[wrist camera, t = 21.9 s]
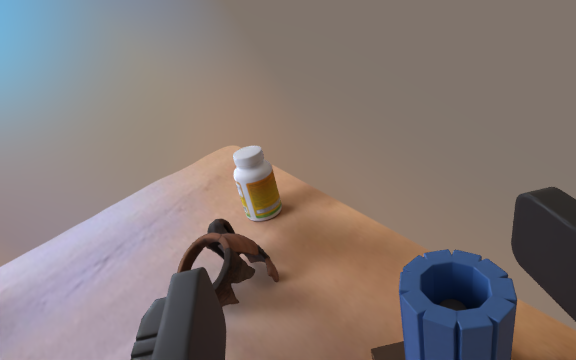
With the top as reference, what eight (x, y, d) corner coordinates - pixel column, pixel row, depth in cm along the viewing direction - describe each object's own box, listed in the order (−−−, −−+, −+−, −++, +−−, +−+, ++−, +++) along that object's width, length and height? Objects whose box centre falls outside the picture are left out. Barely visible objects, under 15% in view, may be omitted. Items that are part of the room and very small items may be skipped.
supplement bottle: (289, 203, 55) (274, 143, 50) (270, 224, 51) (252, 162, 47) (259, 199, 58) (242, 142, 53) (239, 219, 54) (219, 160, 49)
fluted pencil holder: (494, 456, 22) (505, 346, 18) (395, 405, 26) (381, 303, 21) (512, 372, 26) (525, 265, 21) (424, 338, 30) (418, 240, 25)
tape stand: (561, 456, 23) (587, 356, 18) (417, 490, 23) (408, 399, 18) (478, 335, 31) (483, 245, 26) (372, 360, 31) (358, 275, 26)
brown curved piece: (296, 298, 39) (248, 272, 33) (228, 348, 40) (171, 330, 35) (263, 220, 48) (220, 188, 42) (208, 263, 49) (160, 238, 44)
